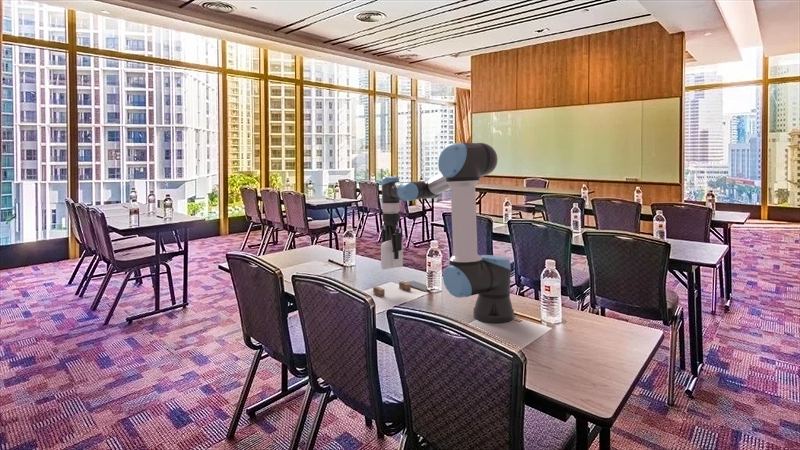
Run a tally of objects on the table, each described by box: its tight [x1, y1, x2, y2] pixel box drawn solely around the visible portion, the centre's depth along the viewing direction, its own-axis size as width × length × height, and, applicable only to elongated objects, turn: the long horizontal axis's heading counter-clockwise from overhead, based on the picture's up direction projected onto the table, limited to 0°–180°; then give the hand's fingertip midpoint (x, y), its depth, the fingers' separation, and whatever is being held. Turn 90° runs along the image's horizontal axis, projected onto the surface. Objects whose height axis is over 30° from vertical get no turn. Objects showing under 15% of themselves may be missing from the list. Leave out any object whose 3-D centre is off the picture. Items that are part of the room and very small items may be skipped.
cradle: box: [372, 281, 412, 297], centre depth 221 cm, size 6×16×3 cm, turn 126°
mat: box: [405, 280, 428, 292], centre depth 230 cm, size 16×6×1 cm, turn 36°
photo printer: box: [380, 239, 404, 270], centre depth 219 cm, size 10×4×12 cm, turn 123°
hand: (392, 265), depth 219 cm, fingers closed on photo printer, 4 cm apart
